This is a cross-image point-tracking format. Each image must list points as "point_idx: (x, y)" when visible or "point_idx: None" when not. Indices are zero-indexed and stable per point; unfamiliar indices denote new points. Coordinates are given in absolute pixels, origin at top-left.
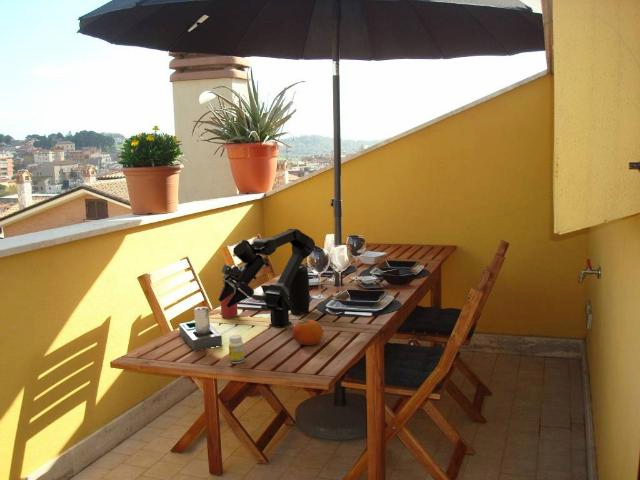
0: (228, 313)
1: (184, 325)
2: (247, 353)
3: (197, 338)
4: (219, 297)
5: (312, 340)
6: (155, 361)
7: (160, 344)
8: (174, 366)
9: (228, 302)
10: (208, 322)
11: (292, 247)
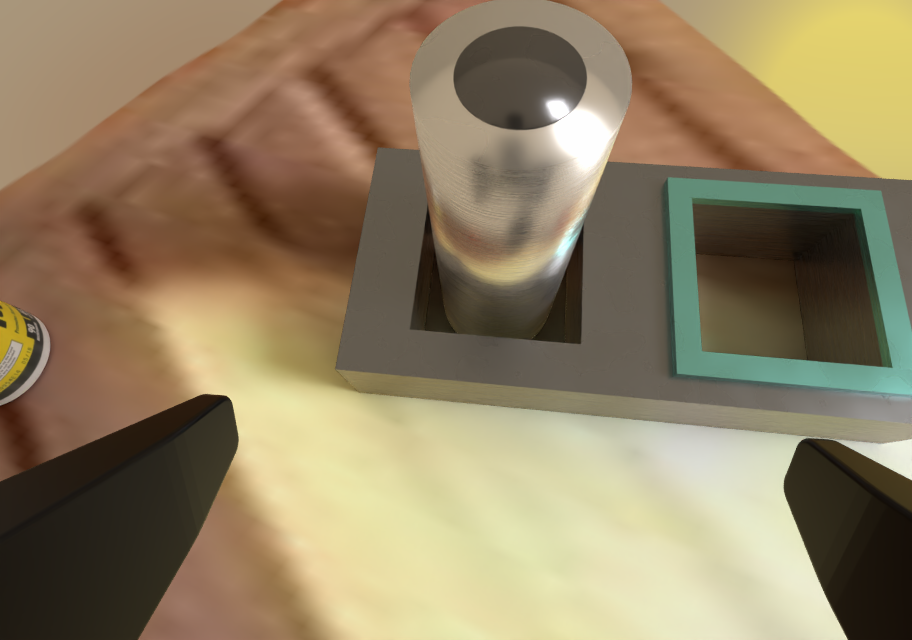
0: None
1: (803, 189)
2: None
3: (395, 183)
4: (873, 467)
5: None
6: (379, 6)
7: (663, 82)
8: (234, 56)
9: (139, 424)
10: (443, 243)
11: None
